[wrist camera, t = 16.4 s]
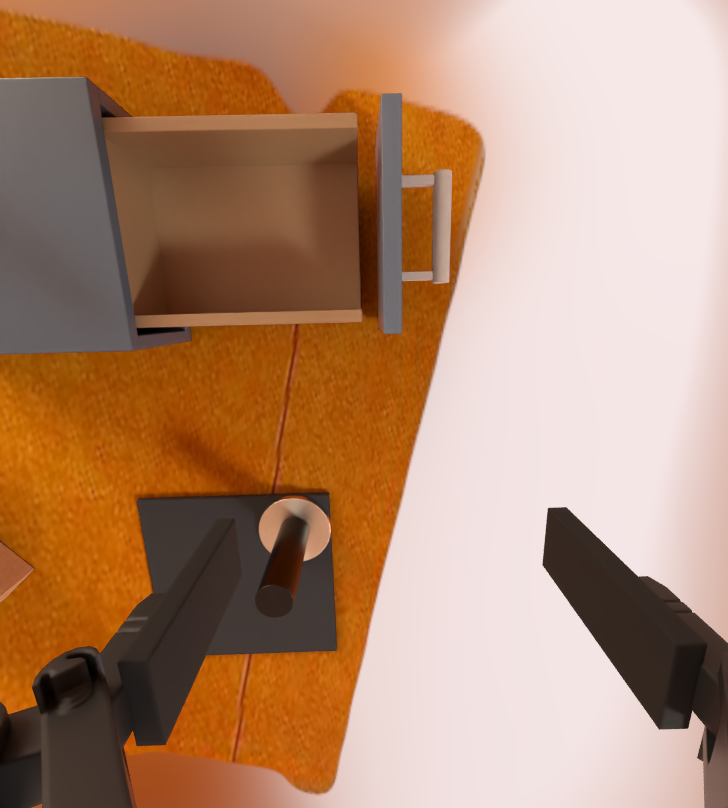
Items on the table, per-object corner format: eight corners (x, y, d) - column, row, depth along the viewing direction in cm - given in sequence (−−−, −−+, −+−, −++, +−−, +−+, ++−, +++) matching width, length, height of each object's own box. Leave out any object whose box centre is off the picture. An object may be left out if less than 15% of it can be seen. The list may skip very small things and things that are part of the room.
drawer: (439, 143, 28) (464, 91, 22) (435, 328, 32) (456, 332, 25) (142, 150, 28) (75, 99, 21) (169, 334, 31) (118, 340, 25)
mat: (328, 492, 36) (328, 494, 35) (336, 646, 40) (336, 650, 40) (139, 498, 36) (136, 500, 35) (167, 652, 40) (165, 656, 40)
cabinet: (166, 145, 29) (86, 75, 20) (192, 340, 32) (132, 351, 24) (-95, 151, 29) (-288, 82, 20) (-41, 347, 32) (-185, 359, 24)
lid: (329, 494, 35) (319, 558, 26) (332, 557, 37) (324, 639, 28) (257, 496, 35) (221, 562, 26) (263, 559, 37) (231, 642, 28)
